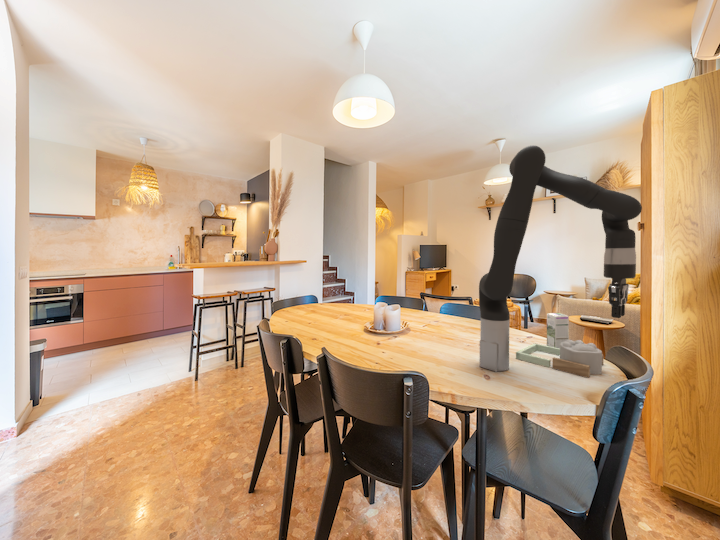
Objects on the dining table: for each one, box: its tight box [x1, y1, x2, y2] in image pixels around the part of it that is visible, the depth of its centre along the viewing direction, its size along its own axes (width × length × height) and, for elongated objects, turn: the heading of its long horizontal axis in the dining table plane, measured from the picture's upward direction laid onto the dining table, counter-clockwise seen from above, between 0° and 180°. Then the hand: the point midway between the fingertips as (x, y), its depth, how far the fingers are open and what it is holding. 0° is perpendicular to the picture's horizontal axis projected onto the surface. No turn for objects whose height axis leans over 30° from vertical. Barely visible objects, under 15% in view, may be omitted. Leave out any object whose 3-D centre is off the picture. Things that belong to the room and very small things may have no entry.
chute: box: [551, 353, 604, 378], centre depth 100 cm, size 17×10×4 cm, turn 127°
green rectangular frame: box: [515, 343, 560, 368], centre depth 109 cm, size 17×11×2 cm, turn 127°
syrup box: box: [546, 312, 570, 349], centre depth 119 cm, size 6×6×14 cm
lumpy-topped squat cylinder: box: [559, 339, 603, 376], centre depth 100 cm, size 10×13×9 cm
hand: (618, 316), depth 91 cm, fingers open, 4 cm apart
